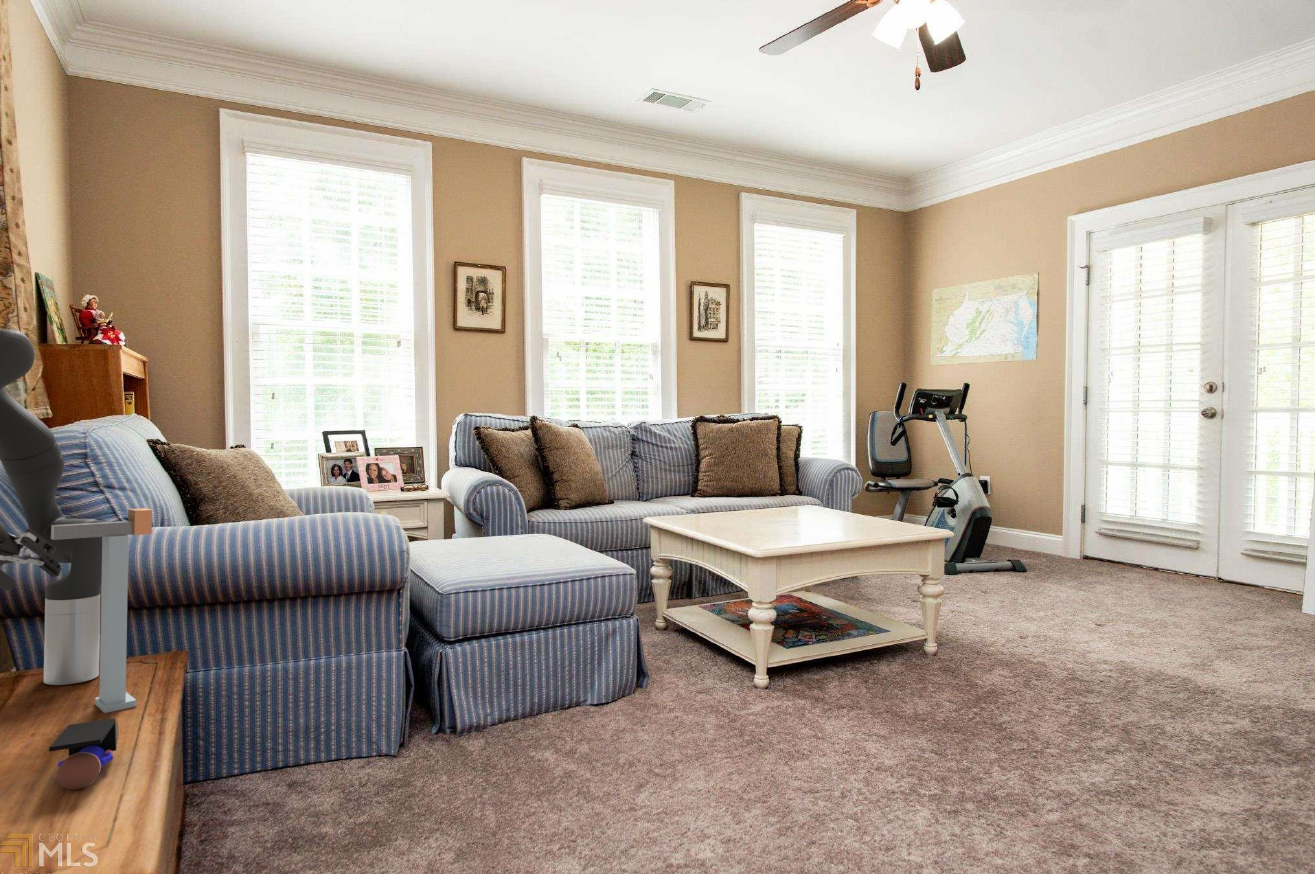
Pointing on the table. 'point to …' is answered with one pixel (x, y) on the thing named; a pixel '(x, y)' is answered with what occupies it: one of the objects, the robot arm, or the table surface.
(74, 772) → the figurine character
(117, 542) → the post
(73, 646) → the robot arm
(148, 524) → the grey handled tool
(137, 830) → the table surface
